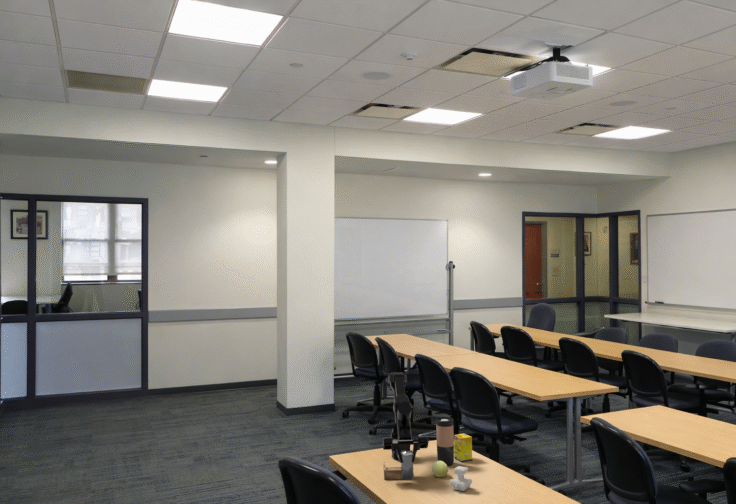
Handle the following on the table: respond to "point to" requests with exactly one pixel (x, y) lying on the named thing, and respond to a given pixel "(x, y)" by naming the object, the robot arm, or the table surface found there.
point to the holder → (392, 472)
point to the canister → (407, 464)
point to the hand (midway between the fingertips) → (407, 462)
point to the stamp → (460, 479)
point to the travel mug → (445, 440)
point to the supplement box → (463, 447)
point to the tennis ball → (440, 469)
